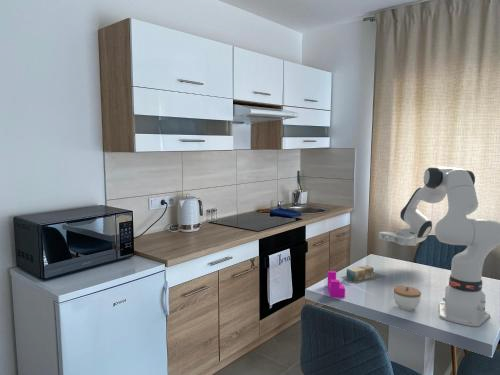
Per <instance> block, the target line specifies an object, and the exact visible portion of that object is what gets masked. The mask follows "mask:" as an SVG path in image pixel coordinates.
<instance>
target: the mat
mask: <svg viewBox="0 0 500 375" xmlns="http://www.w3.org/2000/svg"><path fill="white" fill-rule="evenodd" d="M346 276H347V275H345V276H340V278H341V279H343V280H346V281H348V282H350V283H353V284H356V285H357V284H361V283H366V282H370V281H375V280H379V279H382V278H383V279H384V278H387V276H385V275H383V274H380V273H377V272H376V271H373V277H371V278H367V279H362V280H358V281H351V280H349V279H346Z"/></svg>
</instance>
